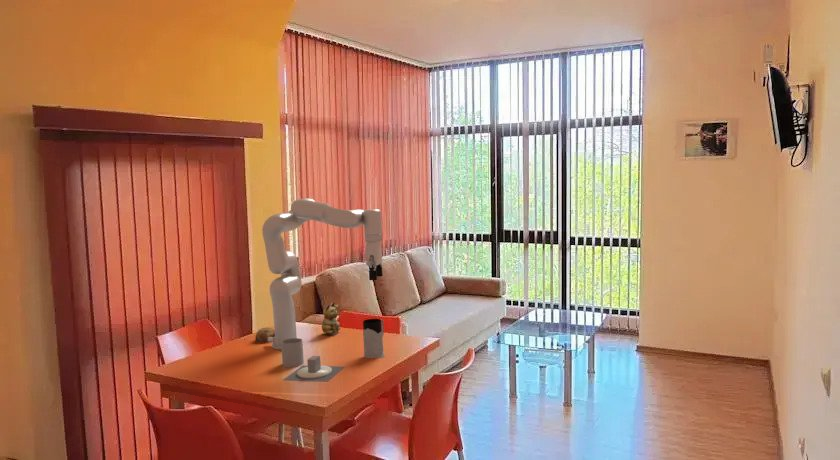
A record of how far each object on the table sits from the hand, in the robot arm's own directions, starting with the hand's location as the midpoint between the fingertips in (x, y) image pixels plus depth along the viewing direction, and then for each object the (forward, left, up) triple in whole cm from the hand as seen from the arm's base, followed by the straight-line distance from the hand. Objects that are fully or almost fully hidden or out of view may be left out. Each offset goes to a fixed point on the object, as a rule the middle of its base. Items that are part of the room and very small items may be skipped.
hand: (376, 278), depth 269 cm
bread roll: (-60, +11, -31) cm, 68 cm away
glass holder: (+1, -9, -31) cm, 32 cm away
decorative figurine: (-33, +24, -31) cm, 51 cm away
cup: (-29, -26, -31) cm, 49 cm away
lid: (-15, -37, -30) cm, 50 cm away
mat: (-15, -37, -31) cm, 50 cm away
